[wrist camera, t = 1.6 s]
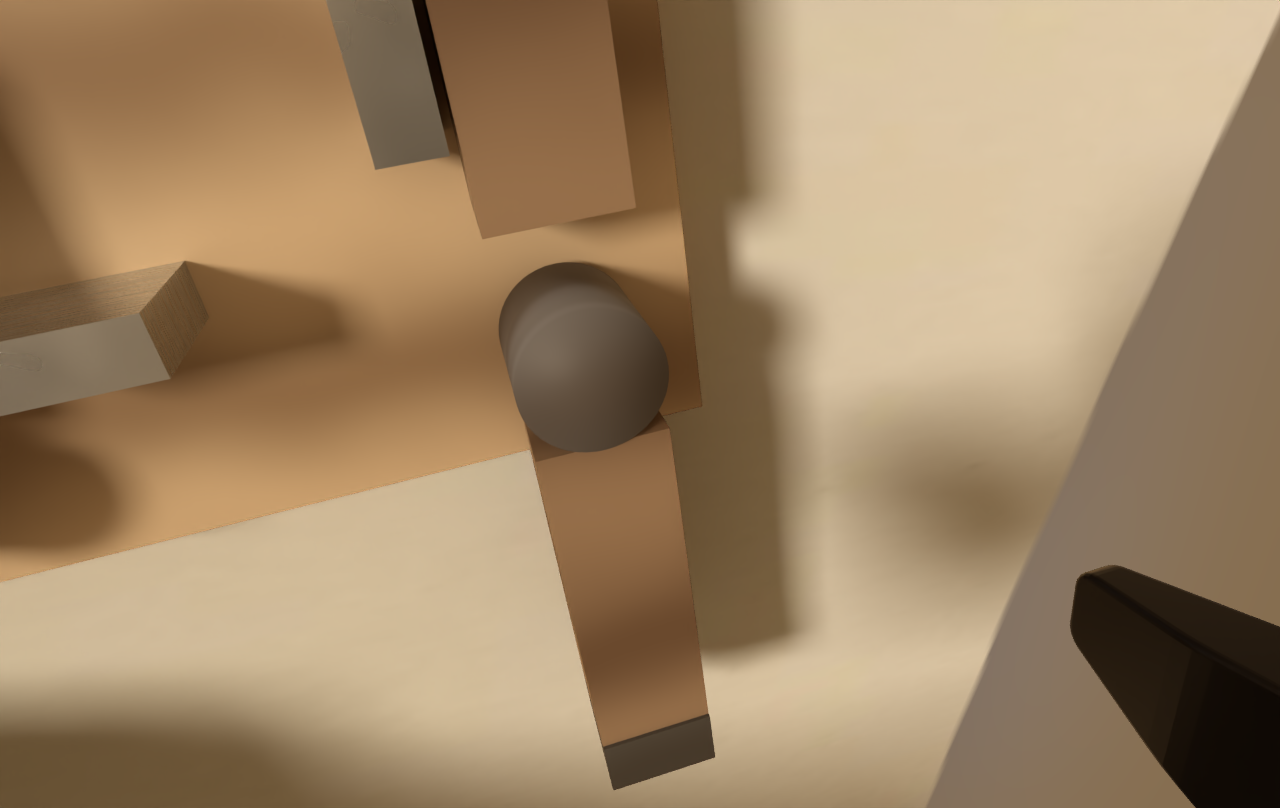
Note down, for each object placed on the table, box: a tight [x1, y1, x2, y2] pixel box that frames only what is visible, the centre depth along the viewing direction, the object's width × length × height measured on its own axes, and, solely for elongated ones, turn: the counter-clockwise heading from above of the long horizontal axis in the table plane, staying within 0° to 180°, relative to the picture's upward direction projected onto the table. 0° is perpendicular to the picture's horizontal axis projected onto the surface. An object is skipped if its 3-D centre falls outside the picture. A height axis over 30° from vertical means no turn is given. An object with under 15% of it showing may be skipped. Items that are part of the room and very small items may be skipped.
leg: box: [498, 262, 715, 790], centre depth 19 cm, size 13×3×3 cm, turn 8°
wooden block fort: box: [0, 0, 702, 582], centre depth 13 cm, size 18×20×5 cm
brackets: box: [0, 0, 450, 416], centre depth 13 cm, size 9×11×3 cm
